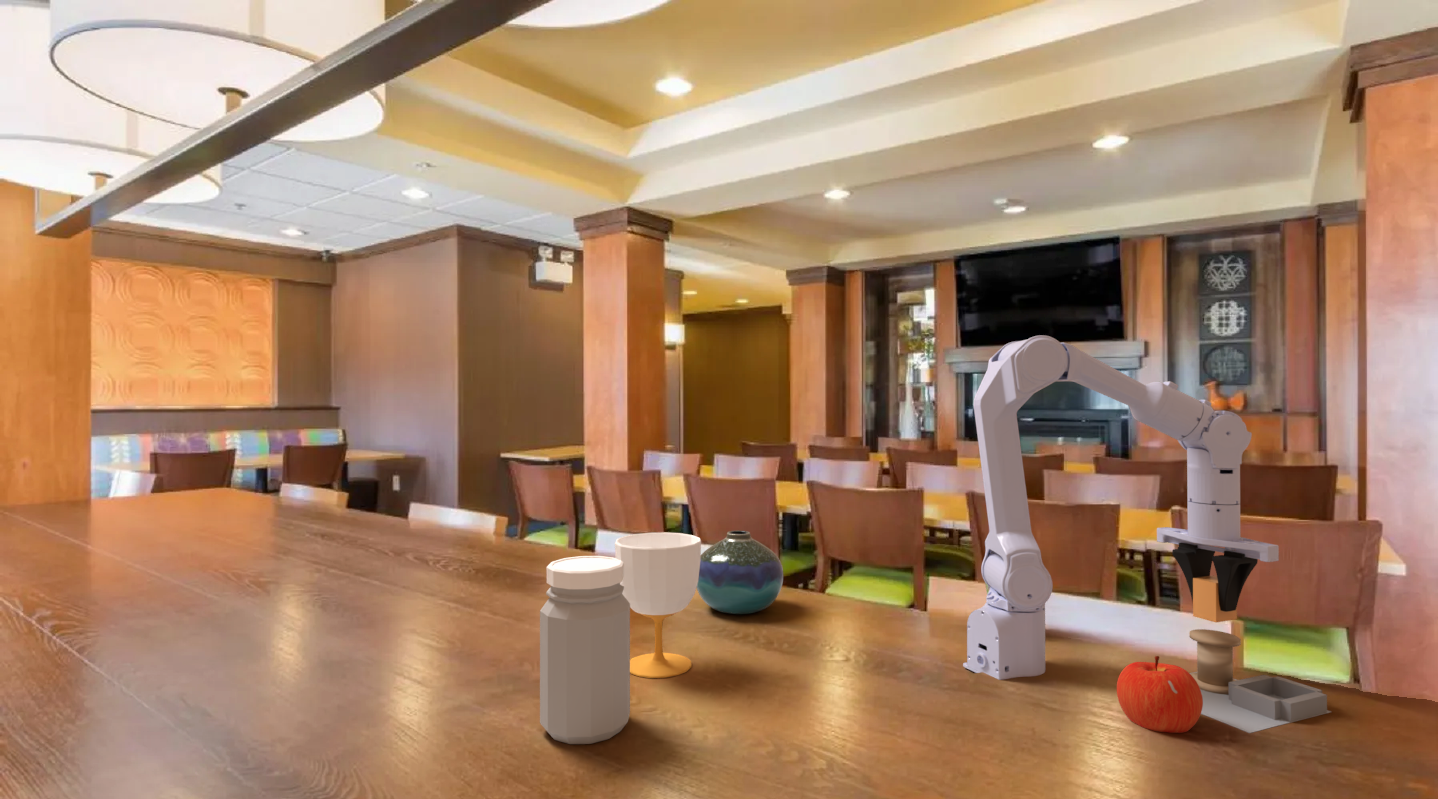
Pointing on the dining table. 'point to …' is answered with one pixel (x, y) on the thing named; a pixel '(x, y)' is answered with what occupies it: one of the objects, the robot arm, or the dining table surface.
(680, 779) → the dining table surface
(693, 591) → the cup
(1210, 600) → the block
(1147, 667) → the apple
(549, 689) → the jar
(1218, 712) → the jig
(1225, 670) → the knob
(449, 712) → the dining table surface
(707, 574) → the vase
